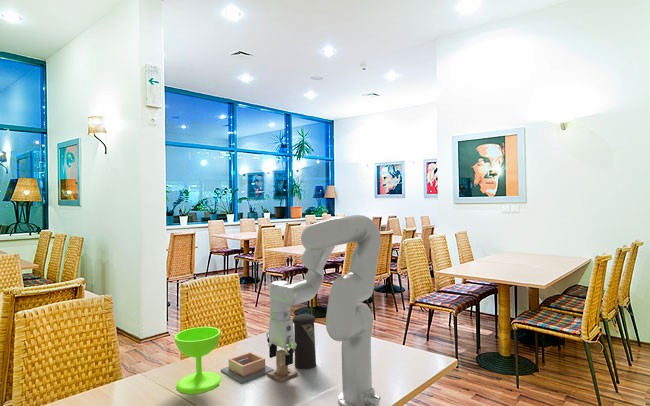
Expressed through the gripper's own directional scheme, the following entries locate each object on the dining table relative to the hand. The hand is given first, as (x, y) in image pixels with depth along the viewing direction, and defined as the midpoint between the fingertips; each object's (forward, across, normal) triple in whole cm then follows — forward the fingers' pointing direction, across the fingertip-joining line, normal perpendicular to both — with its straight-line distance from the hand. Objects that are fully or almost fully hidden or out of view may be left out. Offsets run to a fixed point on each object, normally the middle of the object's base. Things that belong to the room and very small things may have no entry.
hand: (281, 360), depth 150 cm
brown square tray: (+6, -1, 0) cm, 6 cm away
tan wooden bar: (+6, -1, 0) cm, 6 cm away
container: (+6, 0, -12) cm, 14 cm away
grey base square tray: (+6, +12, +7) cm, 15 cm away
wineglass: (+7, +17, +24) cm, 30 cm away
